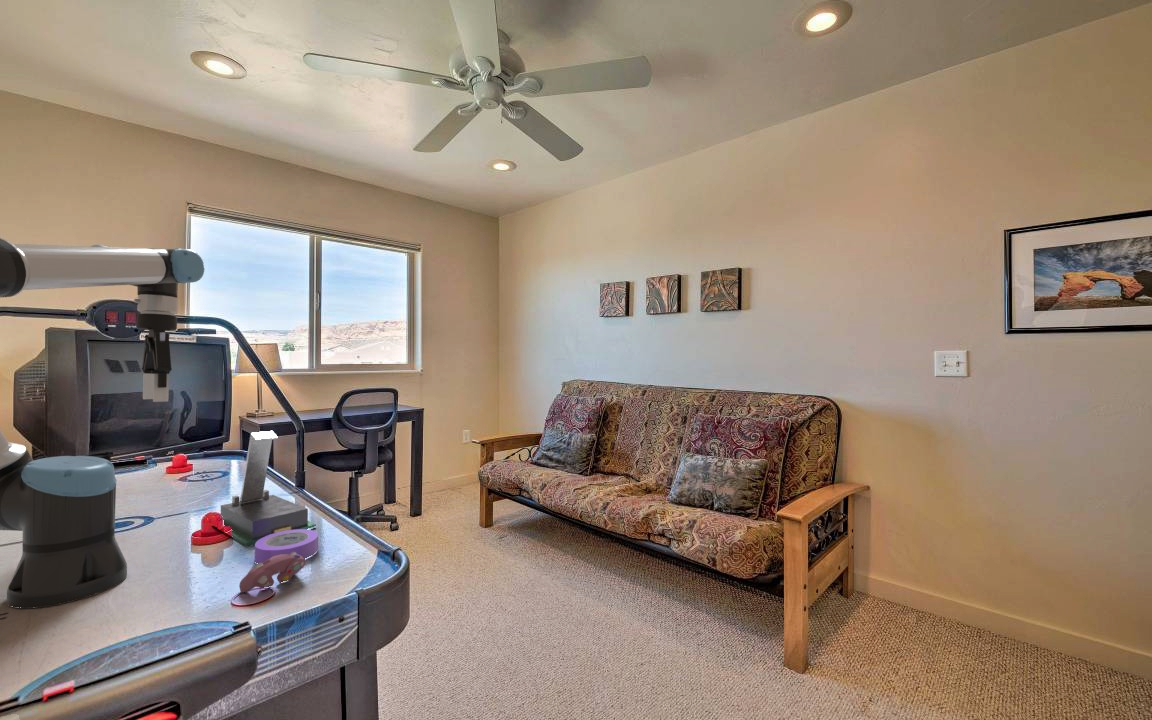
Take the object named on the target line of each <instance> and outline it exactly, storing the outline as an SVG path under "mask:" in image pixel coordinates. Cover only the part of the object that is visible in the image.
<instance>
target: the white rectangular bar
mask: <svg viewBox="0 0 1152 720" xmlns="http://www.w3.org/2000/svg"><path fill="white" fill-rule="evenodd" d="M278 439H279V438H278V436H277V434H276V433H275V432H274V431H273V430H270V431H259V432H251V433H250V436H249V442H248V447H247V448H248V450H247V454H246V461H245V468H244V473H243V480H242V487H241V491H240V496H239V502H240V503H244V502H248V501H253V500H258V499H262V497H263V491H264V490H265V485H266V484H265V483H266V479H267V473H268V468H269V467H268V466H269V459H270V453H271V449H272V443H273V440H278Z"/></svg>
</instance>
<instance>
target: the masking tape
mask: <svg viewBox="0 0 1152 720" xmlns="http://www.w3.org/2000/svg"><path fill="white" fill-rule="evenodd" d="M317 550H318V551H319V533H318V532H317V531H315V530H314V529H311V530H307V529H296V530H287V531H282V532H277V533H274V534H270V535H268V536H265V537H263V538H261V539H259V540H258V541H257V542H256V543H255V545H254V563H255V562H256V563H263V562H265V561H266V560H268V559H270V558H271V557H274V556H276V555H281V554H291V553H292V552H296V554H299V555H301V556H302V557H303V558H304V559H305V558H307V557H309V556H311V555H313V554H314V553H315V552H316V551H317Z"/></svg>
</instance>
